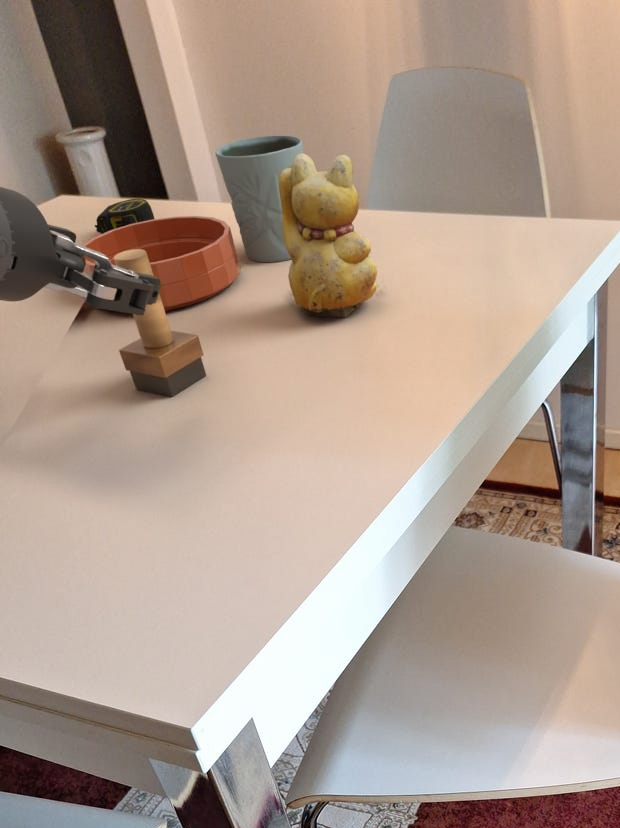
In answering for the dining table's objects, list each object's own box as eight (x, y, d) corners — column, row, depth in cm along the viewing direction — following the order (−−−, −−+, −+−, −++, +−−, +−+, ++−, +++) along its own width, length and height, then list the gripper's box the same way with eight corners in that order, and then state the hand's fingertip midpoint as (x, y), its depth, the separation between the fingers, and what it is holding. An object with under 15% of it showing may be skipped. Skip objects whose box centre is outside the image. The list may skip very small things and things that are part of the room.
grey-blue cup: (226, 263, 114) (199, 157, 106) (264, 235, 121) (241, 134, 113) (300, 264, 111) (277, 155, 103) (334, 236, 118) (315, 132, 110)
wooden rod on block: (132, 390, 88) (86, 262, 80) (170, 367, 91) (130, 242, 83) (172, 398, 86) (129, 267, 78) (209, 374, 89) (172, 247, 81)
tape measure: (117, 227, 130) (107, 199, 127) (164, 223, 129) (155, 195, 127) (100, 244, 124) (90, 214, 122) (149, 239, 124) (140, 210, 121)
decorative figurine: (389, 295, 101) (367, 144, 91) (369, 325, 95) (342, 167, 85) (306, 296, 103) (275, 148, 93) (281, 326, 97) (245, 172, 87)
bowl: (80, 325, 102) (61, 275, 98) (109, 272, 115) (93, 226, 111) (235, 305, 102) (221, 255, 99) (246, 255, 115) (235, 208, 112)
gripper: (-135, 243, 64) (31, 272, 79) (32, 337, 62) (168, 349, 78) (-111, 133, 61) (55, 185, 76) (63, 229, 60) (198, 262, 75)
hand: (112, 267), depth 77 cm, fingers open, 8 cm apart
